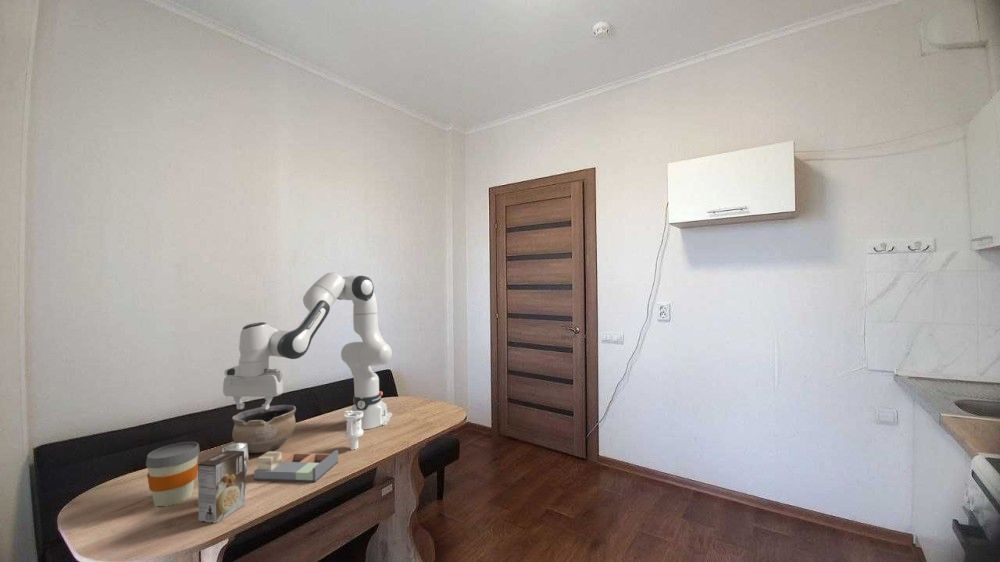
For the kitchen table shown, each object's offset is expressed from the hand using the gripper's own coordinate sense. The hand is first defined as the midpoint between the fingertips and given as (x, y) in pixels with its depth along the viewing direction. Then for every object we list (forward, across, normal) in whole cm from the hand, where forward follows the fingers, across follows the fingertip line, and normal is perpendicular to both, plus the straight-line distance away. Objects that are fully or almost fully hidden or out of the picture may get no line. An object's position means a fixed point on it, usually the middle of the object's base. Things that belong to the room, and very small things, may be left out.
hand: (253, 409), depth 129 cm
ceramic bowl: (+22, +12, -21) cm, 33 cm away
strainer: (+22, -26, -23) cm, 41 cm away
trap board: (+22, -14, -4) cm, 27 cm away
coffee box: (+24, -8, +21) cm, 33 cm away
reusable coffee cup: (+23, +14, +15) cm, 31 cm away
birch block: (+20, -6, -1) cm, 21 cm away
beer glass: (+23, -4, +12) cm, 26 cm away
